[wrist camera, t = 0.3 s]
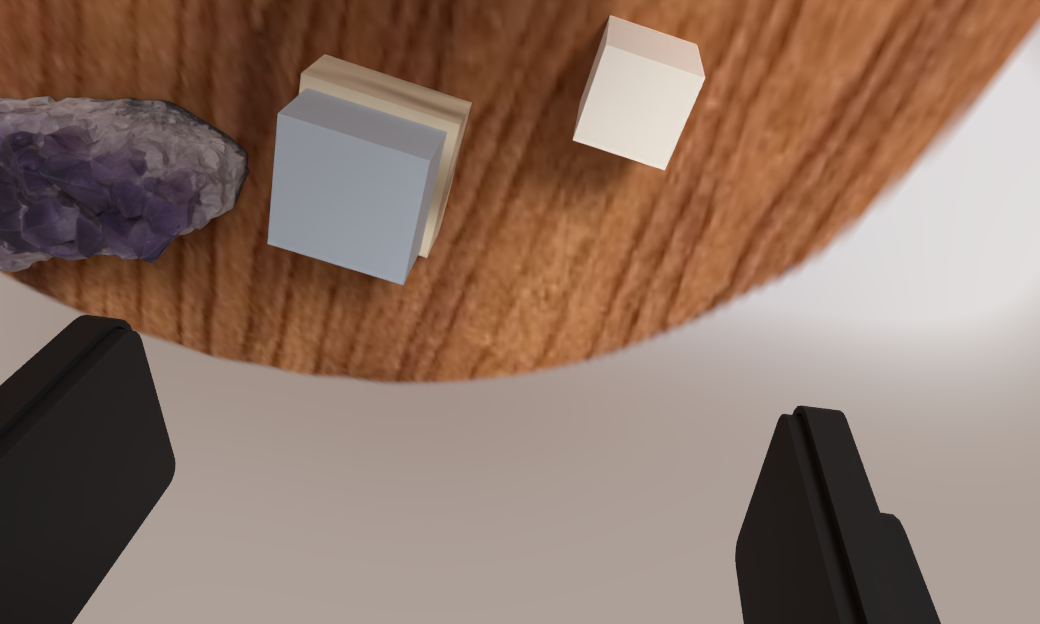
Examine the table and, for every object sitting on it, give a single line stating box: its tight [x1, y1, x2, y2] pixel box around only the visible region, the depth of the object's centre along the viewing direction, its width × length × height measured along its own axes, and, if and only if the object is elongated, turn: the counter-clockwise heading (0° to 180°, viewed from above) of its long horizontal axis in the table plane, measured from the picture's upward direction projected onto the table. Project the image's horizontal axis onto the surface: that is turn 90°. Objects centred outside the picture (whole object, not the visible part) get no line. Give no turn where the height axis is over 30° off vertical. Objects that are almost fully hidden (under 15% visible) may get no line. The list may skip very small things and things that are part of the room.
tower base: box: [299, 54, 472, 258], centre depth 44 cm, size 9×9×4 cm
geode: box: [0, 96, 250, 272], centre depth 45 cm, size 20×12×10 cm, turn 96°
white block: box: [573, 15, 705, 170], centre depth 39 cm, size 5×5×6 cm
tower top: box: [268, 88, 447, 285], centre depth 41 cm, size 8×8×4 cm
